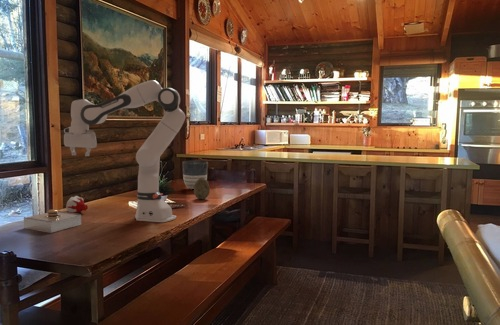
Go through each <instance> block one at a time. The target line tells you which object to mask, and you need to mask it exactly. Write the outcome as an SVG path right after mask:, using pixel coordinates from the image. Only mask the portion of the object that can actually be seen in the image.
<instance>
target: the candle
mask: <svg viewBox="0 0 500 325" xmlns="http://www.w3.org/2000/svg"><path fill="white" fill-rule="evenodd" d="M65 206H66V212H67V211H68V212H69V213H76V214H80V213H81V212H84V211H85V212H86V211H87V210H88V205H87V204H85V201H84V198H83V197H80V196H78V195H74V196H71V197H70V198H69V199H68V200H67V201H66V205H65Z"/></svg>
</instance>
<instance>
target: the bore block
mask: <svg viewBox="0 0 500 325" xmlns="http://www.w3.org/2000/svg"><path fill="white" fill-rule="evenodd" d="M81 225H82V213H81V214H80V213H70V212H67V211H60V210H58V217H56V218H48V212H44V213H41V214H36V215H32V216H31V215H30V216H27V217H26V216H24V217H23V229H25V230H32V231H38V232H43V233H48V234H52V233H56V232H59V231H64V230H66V229H70V228H73V227H74V228H76V227H78V226H81Z"/></svg>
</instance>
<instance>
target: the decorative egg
mask: <svg viewBox="0 0 500 325" xmlns="http://www.w3.org/2000/svg"><path fill="white" fill-rule="evenodd" d="M210 192H211V191H210V184H209V182H208V179H207V180H206V179H205V178H203V177H201V178H199V179H198V180H197V181H196V183H195V186H194V190H193V195H194V196H195V198H196V199H198V200H201V199H202V200H205V199H207V198H208V196H209V195H210Z"/></svg>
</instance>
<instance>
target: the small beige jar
mask: <svg viewBox="0 0 500 325" xmlns="http://www.w3.org/2000/svg"><path fill="white" fill-rule="evenodd" d="M58 211H59V209H48V210H47V213H48V218H56V217H58Z"/></svg>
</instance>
